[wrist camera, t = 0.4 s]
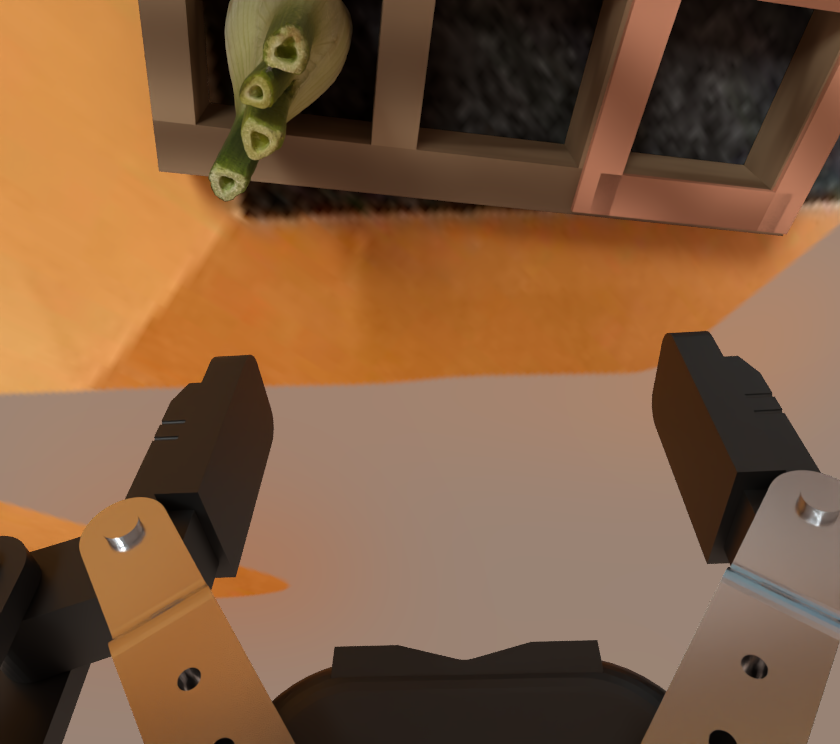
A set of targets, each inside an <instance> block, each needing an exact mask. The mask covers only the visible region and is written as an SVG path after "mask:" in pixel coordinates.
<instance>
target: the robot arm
mask: <svg viewBox="0 0 840 744" xmlns="http://www.w3.org/2000/svg"><path fill="white" fill-rule="evenodd" d="M652 412H653V418H654V423H655V426H656V429H657V432H658V434H659V437H660V439H661V442H662V445H663V448H664V450H665V453H666V456H667V458H668V461H669V464H670V466H671V469H672V472H673V474H674V477H675V480H676V482H677V485H678V488H679V490H680V493H681V496H682V498H683V501H684V504H685V506H686V509H687V512H688V514H689V517H690V520H691V522H692V525H693V528H694V530H695V533H696V536H697V538H698V541H699V543H700V546H701V549H702V552H703V554H704V557H705V559H706V562H707V564H714V563H715V564H717V563H730V565H731V567H728V568H727V570H726V571H725V573H724V575H723V577H722V579H721V581H720V583H719V585H718V587H717V589H716V591H715V593H714V596H713V597H712V599H711V601H710V604H709V606H708V608H707V610H706V612H705V614H704V616H703V618H702V620H701V622H700V624H699V626H698V628H697V630H696V632H695V634H694V636H693V638H692V640H691V642H690V644H689V646H688V649H687V651H686V653H685V654H684V657H683V659H682V661H681V663H680V665H679V667H678V669H677V671H676V673H675V675H674V677H673V679H672V681H671V683H670V685H669V687H668V689H667V691H665V690H664V689H662V688H661V687H660V686H658V685H656V684H655V683H653V682H651V681H650V680H649V679H647V678H645V677H644V676H641V675H639V674H637V673H635V672H633V671H631V670H629V669H627V668H624V667H621V666H618V665H615V664H613V663H609V662H605V661H601V656H600V652H599V647H598V642H597V640H588V641H549V642H530V643H526V644H522V645H519V646H516V647H512V648H508V649H505V650H501V651H498V652H495V653H491V654H488V655H484V656H481V657H477V658H474V659H469V660H459V659H454V658H450V657H446V656H442V655H437V654H433V653H429V652H424V651H420V650H416V649H412V648H407V647H403V646H399V645H389V646H349V647H335V649H334V656H333V664H332V667H330V668H327V669H324V670H321V671H319V672H317V673H315V674H312V675H310V676H308V677H306V678H304V679H302V680H301V681H299V682H297V683H295V684H294V685H292V686H291V687H289V688H288V689H287V690H285V691H284V692H282V693H281V694H280V695H279V696H278V697H276V698H275V699H274V700H273V701H271V699H270V697H269V695H268V693H267V692H266V690H265V688H264V686H263V685H262V683H261V681H260V679H259V677H258V675H257V674H256V672H255V670H254V668H253V666H252V664H251V662H250V661H249V659H248V657H247V655H246V654H245V651H244V650H243V648H242V646H241V644H240V642H239V641H238V639H237V637H236V635H235V633H234V632H233V630H232V628H231V626H230V624H229V622H228V621H227V619H226V617H225V615H224V613H223V612H222V610H221V608H220V606H219V604H218V603H217V601H216V599H215V597H214V595H213V593H212V592H211V589H212V585H213V582H214V579H215V578H223V577H236V574H237V570H238V567H239V563H240V559H241V556H242V552H243V548H244V544H245V541H246V537H247V533H248V530H249V526H250V522H251V518H252V515H253V511H254V507H255V503H256V500H257V496H258V492H259V489H260V485H261V482H262V478H263V474H264V470H265V467H266V463H267V459H268V455H269V452H270V448H271V444H272V440H273V430H274V427H273V416H272V411H271V407H270V404H269V401H268V397H267V394H266V391H265V387H264V384H263V381H262V378H261V374H260V371H259V368H258V364H257V362H256V359H255V358H254V356H252V355H240V356H222V357H214V358H213V359H212V360H211V362H210V364H209V367H208V369H207V371H206V374H205V376H204V378H203V381H202V383H189V384H188V385H187V386H186V387H185V388H184V389H183V390H182V391H181V392H180V393H179V394H178V395H177V396H176V397H175V398H174V399H173V400H172V401H171V403H170V405H169V407H168V409H167V411H166V413H165V415H164V417H163V419H162V425H160V426H159V428H158V430H157V432H156V434H155V437H154V438H155V440H154V441H152V443H151V445H150V448H149V450H148V452H147V454H146V456H145V458H144V460H143V462H142V464H141V466H140V469H139V471H138V473H137V475H136V477H135V479H134V481H133V484H132V486H131V488H130V490H129V492H128V494H127V496H126V498H125V500H122V501H119V502H117V503H115V504H112V505H111V506H109V507H107V508H106V509H104V510H102V511H101V512H100V513H98V514H97V515H96V516H95V517H94V518H93V519H92V520H91V521H90V522H89V524H88V525H87V526H86V528H85V529H84V531H83V533H82V535H81V537H78V538H75V539H72V540H69V541H66V542H62V543H59V544H56V545H52V546H49V547H46V548H42V549H39V550H36V551H32V552H29V551H28V550H27V548H26V547H25V546H24V544H23V543H22V542H21V541H20V540H18V539H16V538H14V537H9V536H0V744H62V742H63V739H64V736H65V734H66V731H67V728H68V725H69V723H70V720H71V716H72V714H73V711H74V709H75V706H76V703H77V700H78V697H79V694H80V692H81V689H82V686H83V683H84V681H85V678H86V675H87V672H88V669H89V667H90V664H91V663H93V662H96V661H99V660H102V659H105V658H108V657H111V656H112V659H113V662H114V664H115V667H116V669H117V672H118V675H119V678H120V680H121V683H122V686H123V689H124V691H125V694H126V697H127V699H128V702H129V705H130V707H131V710H132V713H133V716H134V718H135V721H136V724H137V726H138V729H139V732H140V735H141V737H142V740H143V743H144V744H807V743H808V740H809V737H810V733H811V730H812V727H813V724H814V721H815V718H816V714H817V712H818V708H819V705H820V702H821V699H822V696H823V693H824V690H825V687H826V683H827V680H828V677H829V674H830V671H831V668H832V665H833V662H834V658H835V655H836V652H837V649H838V645H839V643H840V480H839V479H837V478H834V477H832V476H829V475H826V474H823V473H821V472H820V471H819V469H818V467H817V466H816V464H815V462H814V461H813V459H812V457H811V456H810V454H809V453H808V451H807V449H806V448H805V446H804V444H803V443H802V441H801V439H800V438H799V436H798V434H797V433H796V431H795V429H794V428H793V426H792V425H791V423H790V421H789V420H788V418H787V416H786V415H785V414H784V413H782V408H781V407H780V405H779V403H778V402H777V400H776V398H775V397H772V392H771V390H770V388H769V387H768V385H767V383H766V382H765V380H764V379H763V377H762V375H761V374H760V372H758V371H757V370H756V369H754V368H753V367H752V366H750V365H749V364H748V363H747V362H745V361H744V360H743V359H741V358H740V357H739V356H728V357H724V356H723V355H722V353H721V351H720V349H719V348H718V346H717V344H716V342H715V340H714V339H713V337H712V335H711V334H710V333H709V332H708V331H700V332H682V333H667V334H666V335H665V336H664V338H663V341H662V346H661V351H660V356H659V362H658V367H657V372H656V378H655V383H654V388H653V394H652Z"/></svg>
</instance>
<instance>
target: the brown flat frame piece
mask: <svg viewBox="0 0 840 744" xmlns="http://www.w3.org/2000/svg"><path fill="white" fill-rule="evenodd" d="M759 1H766V2H773V3H779V4H786V5H793V6H799V7H806V8H813V9H814V11H813V14H812V16H811V18H810V20H809V22H808V25H807V27H806V29H805V31H804V33H803V36H802V38H801V40H800V42H799V44H798V47H797V49H796V51H795V53H794V55H793V58H792V60H791V62H790V64H789V66H788V69H787V71H786V73H785V75H784V78H783V80H782V82H781V84H780V86H779V89H778V91H777V93H776V95H775V97H774V100H773V102H772V104H771V106H770V108H769V111H768V113H767V115H766V117H765V119H764V122H763V124H762V126H761V128H760V130H759V133H758V135H757V137H756V139H755V142H754V144H753V146H752V148H751V150H750V153H749V155H748V157H747V159H746V161H745V164H744V165H738V164H729V163H721V162H712V161H704V160H695V159H687V158H678V157H669V156H661V155H652V154H644V153H635V152H630V151H631V148H632V145H633V142H634V139H635V136H636V133H637V130H638V127H639V124H640V121H641V118H642V115H643V112H644V109H645V106H646V103H647V100H648V97H649V94H650V91H651V88H652V85H653V82H654V80H655V77H656V74H657V71H658V68H659V65H660V62H661V59H662V56H663V53H664V50H665V47H666V44H667V41H668V38H669V35H670V32H671V29H672V26H673V23H674V20H675V17H676V14H677V11H678V8H679V5H680V2H681V0H603V3H602V7H601V11H600V15H599V18H598V22H597V26H596V29H595V33H594V37H593V40H592V44H591V48H590V51H589V55H588V59H587V62H586V66H585V70H584V74H583V77H582V81H581V85H580V88H579V92H578V96H577V99H576V103H575V107H574V110H573V114H572V118H571V121H570V125H569V129H568V133H567V136H566V140H565V144H558V143H550V142H541V141H532V140H524V139H515V138H507V137H498V136H490V135H481V134H472V133H464V132H455V131H447V130H438V129H430V128H421V127H419V124H420V117H421V109H422V101H423V93H424V86H425V78H426V70H427V62H428V55H429V47H430V39H431V31H432V24H433V16H434V8H435V0H382V6H381V18H380V30H379V42H378V54H377V66H376V77H375V89H374V101H373V113H372V122H370V121H361V120H353V119H344V118H335V117H327V116H318V115H310V114H301V113H299V114H297V115H296V116H295V117H293V118H292V119H291V120H289V121H288V122H287V123H286V135H285V139H284V142H283V145H282V147H281V148H280V149H278V150H276V151H274V152H273V153H272V154H270V155H269V156H267V157H264V158H262V159H260V160H259V162H258V164H257V167H256V168H255V171H254V173H253V175H252V176H251V181H258V182H267V183H277V184H286V185H296V186H306V187H315V188H325V189H335V190H344V191H354V192H364V193H373V194H383V195H393V196H402V197H412V198H421V199H431V200H441V201H450V202H460V203H470V204H479V205H489V206H499V207H508V208H518V209H528V210H537V211H547V212H556V213H566V214H576V215H585V216H595V217H605V218H614V219H624V220H634V221H643V222H653V223H663V224H672V225H682V226H691V227H701V228H711V229H720V230H730V231H740V232H749V233H759V234H769V235H778V236H783V234H787V233H788V231H789V229H790V227H791V225H792V223H793V222H794V220H795V218H796V216H797V214H798V212H799V210H800V208H801V207H802V205H803V203H804V201H805V199H806V197H807V195H808V193H809V192H810V190H811V188H812V186H813V184H814V182H815V180H816V178H817V176H818V175H819V173H820V171H821V169H822V167H823V165H824V163H825V161H826V160H827V158H828V156H829V154H830V152H831V150H832V148H833V146H834V144H835V143H836V141H837V139H838V137H839V135H840V0H759ZM138 3H139V11H140V19H141V27H142V36H143V44H144V52H145V60H146V68H147V77H148V85H149V93H150V101H151V109H152V117H153V126H154V134H155V142H156V150H157V158H158V167H159V171H161V172H171V173H180V174H190V175H200V176H209V173H210V170H211V168H212V166H213V164H214V162H215V160H216V158H217V156H218V154H219V152H220V150H221V148H222V146H223V144H224V142H225V140H226V139H227V137H228V135H229V133H230V131H231V128H232V126H233V123H234V121H235V118H236V109H235V106H233V105H224V104H216V103H210V102H209V87H208V73H207V58H206V43H205V28H204V13H203V0H138Z"/></svg>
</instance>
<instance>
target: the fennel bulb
mask: <svg viewBox="0 0 840 744" xmlns="http://www.w3.org/2000/svg"><path fill="white" fill-rule="evenodd" d="M352 33H353V24H352V20H351V16H350V13H349V11H348V9H347V7H346V6H345V4H344V3H343V2H342V0H230V2H229V6H228V11H227V17H226V22H225V46H226V53H227V61H228V66H229V72H230V77H231V81H232V85H233V91H234V99H235V109H236V118H235V121H234V123H233V126H232V128H231V131H230V133H229V135H228V137H227V139H226V140H225V142H224V144H223V146H222V148H221V150H220V152H219V154H218V156H217V158H216V160H215V162H214V164H213V166H212V168H211V170H210V173H209V177H208V178H209V180H210V182H211V188H212V190H213V192H214V193H215V195H216V196H217V197H218V198H220V199H222V200H223V201H230V200H233V199H234V198H235V197H236V196H237V195H239V194H241V193H244V192H245V190H246V188H247V187H248V185H249V183H250V181H251V176H252V175H253V173H254V171H255V168H256V167H257V164H258V162H259V160H260V159H262V158H264V157H267V156H269V155H270V154H272V153H273V152H274V151H276V150H278V149H280V148H281V147H282V145H283V142H284V139H285V135H286V123H287V122H288V121H289V120H291V119H292V118H293V117H295V116H296V115H297V114H299V113H300V112H301V111H302V110H304V109H305V108H306V107H308V106H309V105H310V104H311V103H313V102H314V101H315V100H316V99H318V98H319V97H320V96H321V95H322V94H323V93H324V92H325V91H326V90H327V89H328V88H329V87H330V86H331V85H332V84H333V83H334V82H335V80H336V78H337V76H338V75H339V73H340V72H341V70H342V67H343V65H344V63H345V61H346V58H347V54H348V51H349V49H350V45H351V38H352Z"/></svg>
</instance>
